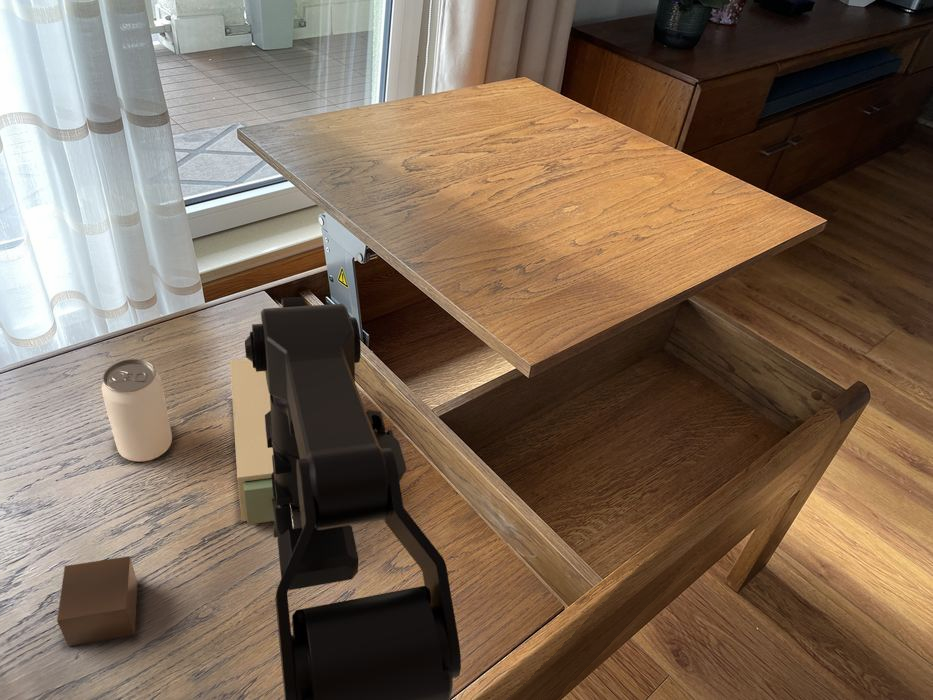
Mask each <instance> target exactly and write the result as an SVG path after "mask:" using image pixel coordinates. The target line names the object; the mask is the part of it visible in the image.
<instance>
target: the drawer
mask: <svg viewBox="0 0 933 700" xmlns="http://www.w3.org/2000/svg"><path fill="white" fill-rule="evenodd" d="M244 494H245V504H246V514H247V521H246V524H247V525H254V524H261V523H268V522H273V523H274V524H272V533H273V538H274V539H275V538H278V537H279V536H280V535H279V534H278V532H277V525H276V516H275V508H281V507H280V506H279V505H277V501H276V499H275V498H274V496H273V487H272V478H267V479H259V480H251V481H250V482H244Z"/></svg>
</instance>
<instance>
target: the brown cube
mask: <svg viewBox="0 0 933 700" xmlns="http://www.w3.org/2000/svg"><path fill="white" fill-rule="evenodd" d="M138 585H139V584H138V579H137V576H136V572H135V569H134V566H133V562H132V559H131V556H130V555H127V556H121V557H116V558H115V557H114V558H108V559H102V560H96V561H90V562H89V561H88V562H82V563H75V564H69V565H64V567H63V575H62V583H61V589H60V597H59V604H58V611H57V617H56V622H57V624H58V626H59V629H60V631H61V634H62V635H63V638H64V640H65V642H66V644H67V646H68V647H74V646H80V645H85V644H90V643H96V642H102V641H107V640H113V639H118V638H124V637H128V636H135V634H136V620H137V619H136V617H137V601H138Z"/></svg>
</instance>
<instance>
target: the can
mask: <svg viewBox="0 0 933 700" xmlns="http://www.w3.org/2000/svg"><path fill="white" fill-rule="evenodd" d="M101 393H102V398H103V401H104V402H103V403H104V406H105V410H106V413H107V416H108V420H109V424H110V429H111V432H112V436H113V439H114V443H115V447H116V449H117V452H118V454H119V455H120V456H121V457H123V459H125V460H128V461H131V462H135V463H136V462H138V463H143V462H149V461H153V460H156V459H157V458H159V457H160V456H162V455H163V454H165V453H166V452H167V451H168V450H169V448H170V447H171V444H172V441H173V435H172V434H173V433H172V429H171V424H170V423H171V422H170V418H169V413H168V407H167V402H166V398H165V393H164V387H163V382H162V378H161V376H160V374H159V373H158V372H157V370H156V368H155V366H154V365H153V364H152V363H151V362H150V361H147V360H144V359H139V358H129V359H123V360H120V361H117V362H115V363H113V364H112V365H110V366H109V367H108V368H107V369H106V370H105V371H104V373H103V375H102V384H101Z"/></svg>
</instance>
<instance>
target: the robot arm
mask: <svg viewBox="0 0 933 700" xmlns="http://www.w3.org/2000/svg"><path fill="white" fill-rule="evenodd" d="M260 318H261V319H260V320H261V323H255V324H254V323H253V324H251V331H249V336H247V338H246V339H245V340H244V350H245V359H249V360H250V361H252V363H253V368H255V369H256V372H259V371H265V373H266V380H267V386H268V391H269V394H270V408H271V410H270V411H269V412H268V413H267V414H266V415H265V427H266V437H267V447H268V448H273V455H272V463H273V473H272V475H271V478H272V487H273V496H274V498H275V499H276V501H277V505H279V506H280V507H281V508H275V516H276V525H277V532H278V534H279V535H280V536H279V537H277V550H278V561H279V570H280V581H279V583H278V586H277V587H276V588H277V589H276V592H275V598H274V599H275V600H274V601H275V613H276V621H277V632H278V634H277V635H278V645H279V653H280V655H279V656H280V664H281V675H282V676H281V677H282V684H283V685H282V686H283V694H284V700H450V699H451V697H452V693H453V684H454V683H453V679H457V678H458V677H459V676H460V674H461V669H462V655H461V646H460V639H459V634H458V628H457V627H458V626H457V620H456V616H455V615H456V614H455V610H454V605H453V597H452V591H451V586H450V579H449V573H448V569H447V564H446V562H445V561H446V560H444V557H443V555H442V554H441V553H440V552H439V551H438V550H437V548H436V547H435V545H434V544H433V543H432V541H430V539H429V538H428V537H427V535H426V534H425V533H424V532H423V530H422V529H421V528H420V527H419V525H418V524H417V523H416V521H415V520H414V519H413V518H412V516H411V515H410V514H409V513H408V511H407V510H406V508H405V507H404V502H403V497H402V491H401V489H402V488H401V484H400V481H401V480H402V478H403V477H404V475H405V473H406V472H407V465H406V461H405V458H404V455H403V450H402V447H401V443H400V441H399V440H398V439H397V438H396V437H395V436H394V431H393V429H388V430H387V431H386V425H385V420H384V418H383V414H382V412H381V411H379V410H378V411H377V410H371V409H368V410H366V407H365V406H364V402H363V400H362V397H361V395H360V393H359V390H358V387H357V384H356V368H355V367H356V364H358V363H360V361H361V353H362V351H361V350H362V348H361V333H360V329H359V323H358V319H357V318H356V316H355V317H354V316H353V317H350V314H349V311H348V308H347V307H346V305H344V304H343V303H331V304H330V303H329V304H318V305H317V304H315V305H313V304H312V305H306V301H305V297H304V296H299V297H298V296H297V297H296V296H295V297H282V298H281V307H270V308H269V307H268V308H263V309H261V311H260ZM379 521H384V523H385V525H386V526H387V528H389V530H390V531H391V532H392V534H393V535H394V536H395V538H396V539H397V540H398V542H400V544H401V546H402V547H404V548H405V550H406V551H407V553H408V554H409V555H410V557H411V558H412V559H413V561H414V562H415V563H416V564H417V565H418V567H419V568H420V569H421V571H422V577H423V584H424V585H421V586H415V587H409V588H406V589H405V588H404V589H399V590H395V591H389V592H384V593H379V594H374V595H369V596H363V597H358V598H353V599H352V598H351V599H347V600H342V601H337V602H331V603H326V604H321V605H316V606H311V607H306V608H300V609H296V610H295V611H294V613H293V614H292V616H291V618H290V609H289V597H288V592H289V591H294V590H298V589H299V590H300V589H304V588H310V587H316V586H322V585H328V584H333V583H340V582H344V581H350V580H353V579H354V578H355V577H356V575H357V574H358V572H359V563H360V562H359V561H360V559H359V555H358V550H357V544H356V539H355V534H354V529H353V525H360V524H361V525H362V524H366V523H372V522H379ZM291 625H292V627H291Z"/></svg>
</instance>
